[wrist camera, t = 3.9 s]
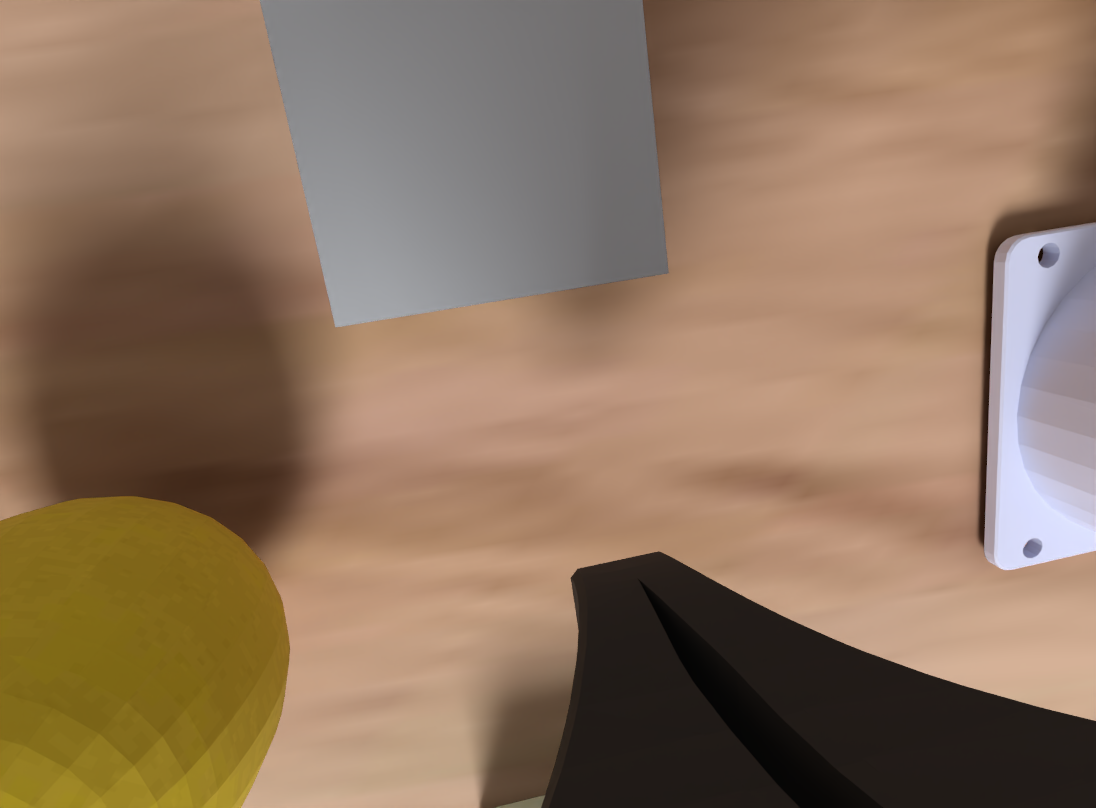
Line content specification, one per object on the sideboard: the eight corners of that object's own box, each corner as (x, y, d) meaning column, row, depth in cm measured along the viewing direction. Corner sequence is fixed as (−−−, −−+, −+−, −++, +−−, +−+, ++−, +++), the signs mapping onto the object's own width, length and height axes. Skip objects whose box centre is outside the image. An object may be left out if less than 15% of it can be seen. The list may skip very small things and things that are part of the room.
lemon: (-33, 577, 13) (-761, 1090, 5) (165, 380, 12) (-286, 602, 5) (201, 732, 14) (-83, 1307, 7) (381, 560, 14) (308, 949, 6)
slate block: (564, 18, 12) (632, -108, 8) (594, 263, 13) (668, 273, 9) (317, 47, 12) (243, -70, 7) (371, 298, 13) (335, 327, 8)
